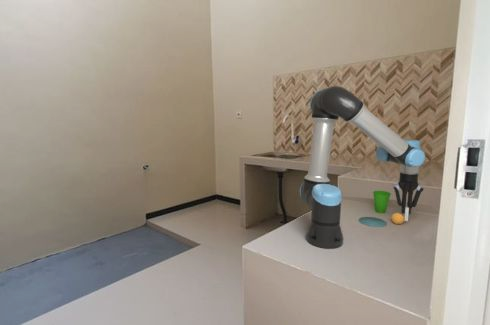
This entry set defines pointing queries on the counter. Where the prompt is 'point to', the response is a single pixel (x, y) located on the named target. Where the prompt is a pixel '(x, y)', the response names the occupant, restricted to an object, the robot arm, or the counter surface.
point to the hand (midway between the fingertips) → (405, 219)
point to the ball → (397, 218)
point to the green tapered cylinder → (381, 201)
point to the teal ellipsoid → (372, 221)
